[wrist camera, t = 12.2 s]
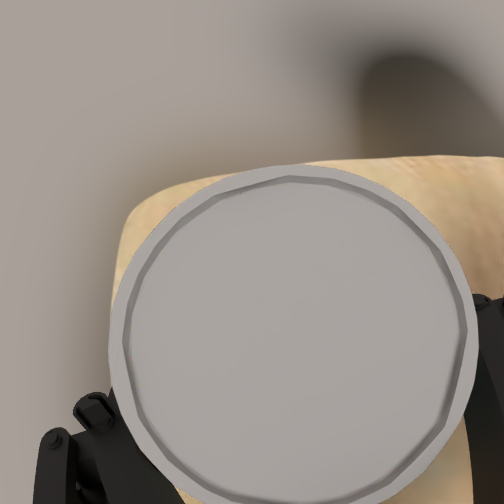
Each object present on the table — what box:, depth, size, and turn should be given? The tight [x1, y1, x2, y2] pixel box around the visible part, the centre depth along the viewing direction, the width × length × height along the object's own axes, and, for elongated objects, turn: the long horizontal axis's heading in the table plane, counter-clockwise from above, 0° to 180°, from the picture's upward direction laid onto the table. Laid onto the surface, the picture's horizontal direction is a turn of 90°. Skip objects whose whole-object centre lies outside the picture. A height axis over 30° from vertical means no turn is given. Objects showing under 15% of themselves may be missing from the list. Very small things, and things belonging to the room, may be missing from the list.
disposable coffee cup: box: [108, 165, 479, 504], centre depth 11 cm, size 10×10×12 cm
